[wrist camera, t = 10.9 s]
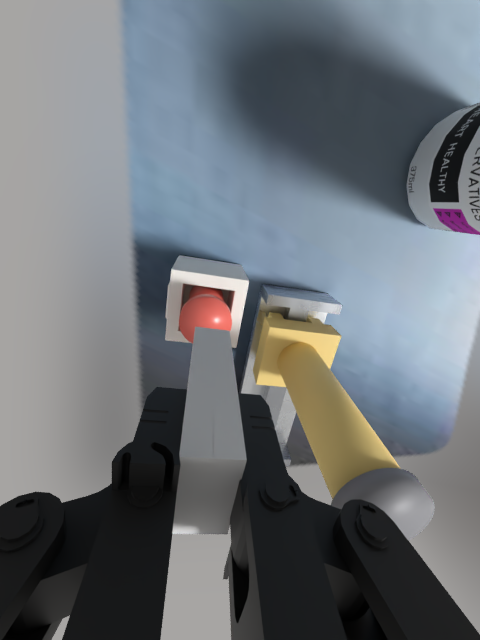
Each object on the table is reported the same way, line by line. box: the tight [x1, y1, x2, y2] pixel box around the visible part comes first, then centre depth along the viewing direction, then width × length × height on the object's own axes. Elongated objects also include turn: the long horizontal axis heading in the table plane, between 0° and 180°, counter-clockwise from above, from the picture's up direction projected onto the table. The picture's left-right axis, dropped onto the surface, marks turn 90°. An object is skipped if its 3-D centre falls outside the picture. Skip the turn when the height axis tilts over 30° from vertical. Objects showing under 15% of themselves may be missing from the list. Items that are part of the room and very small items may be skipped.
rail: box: [239, 284, 342, 466], centre depth 26 cm, size 17×6×3 cm, turn 170°
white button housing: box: [165, 255, 249, 348], centre depth 21 cm, size 5×5×5 cm
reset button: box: [179, 285, 232, 343], centre depth 19 cm, size 3×3×5 cm
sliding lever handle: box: [253, 312, 435, 540], centre depth 18 cm, size 5×6×15 cm
